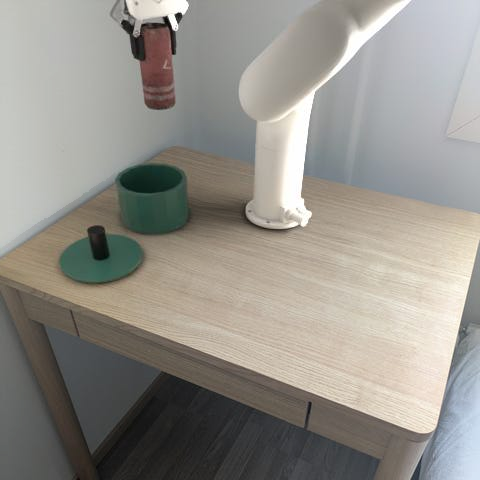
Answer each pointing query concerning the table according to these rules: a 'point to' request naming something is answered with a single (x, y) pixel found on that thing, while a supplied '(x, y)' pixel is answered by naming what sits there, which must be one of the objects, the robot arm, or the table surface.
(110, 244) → the lid
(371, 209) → the table surface
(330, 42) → the robot arm
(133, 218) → the pot
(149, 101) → the can
